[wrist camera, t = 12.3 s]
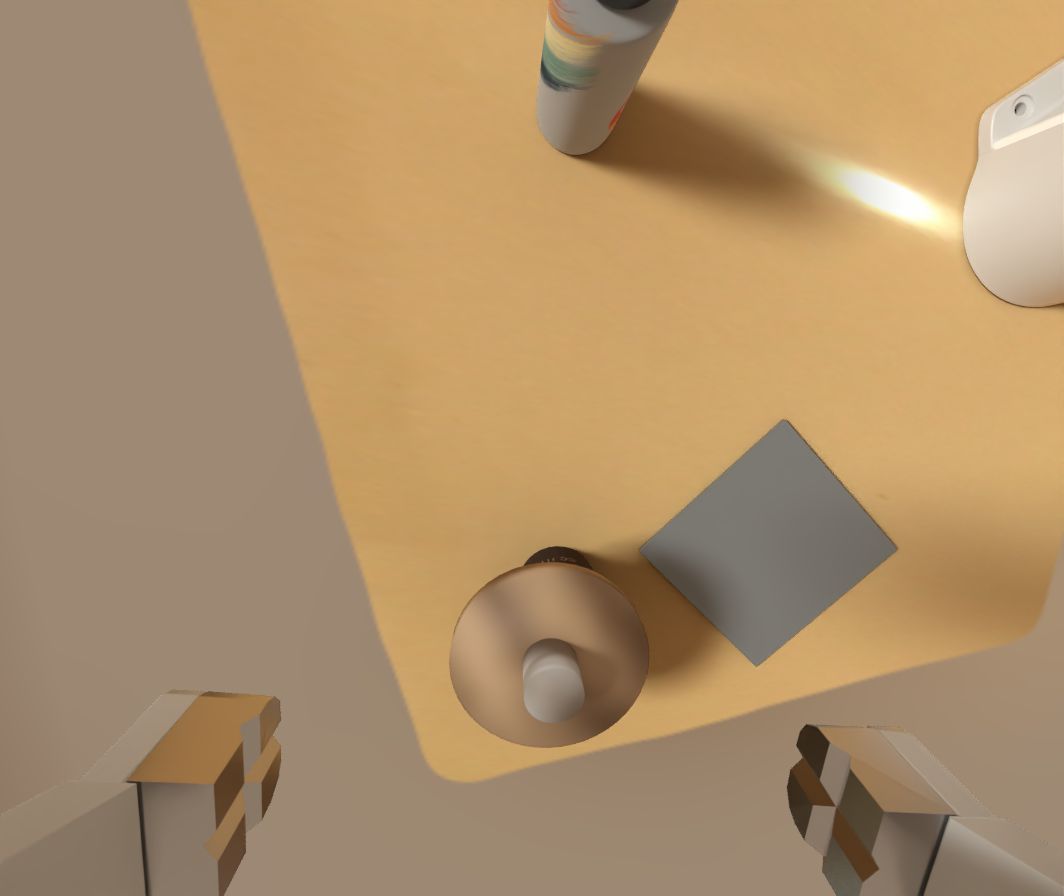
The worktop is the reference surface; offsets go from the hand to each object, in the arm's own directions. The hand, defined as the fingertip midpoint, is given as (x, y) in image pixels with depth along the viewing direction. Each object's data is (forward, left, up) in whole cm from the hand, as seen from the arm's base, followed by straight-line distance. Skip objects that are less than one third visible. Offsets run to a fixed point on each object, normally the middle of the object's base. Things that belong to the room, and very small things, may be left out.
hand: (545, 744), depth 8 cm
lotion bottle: (-18, -12, -34) cm, 41 cm away
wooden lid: (+9, +12, -24) cm, 28 cm away
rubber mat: (-7, +24, -34) cm, 42 cm away
